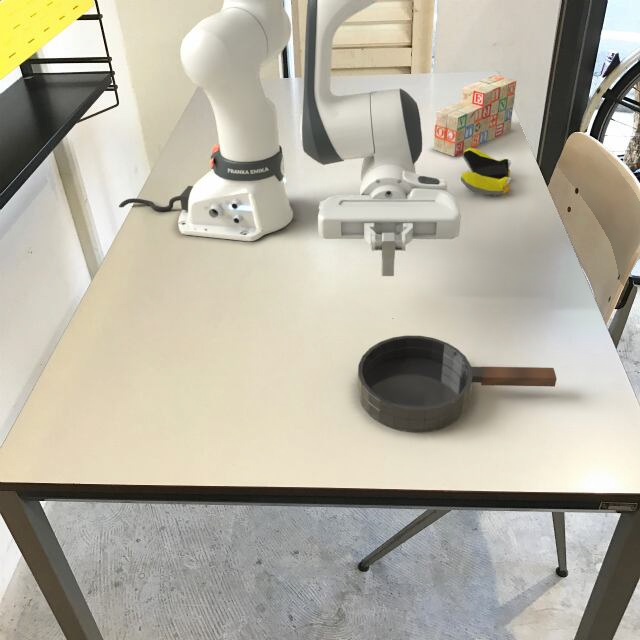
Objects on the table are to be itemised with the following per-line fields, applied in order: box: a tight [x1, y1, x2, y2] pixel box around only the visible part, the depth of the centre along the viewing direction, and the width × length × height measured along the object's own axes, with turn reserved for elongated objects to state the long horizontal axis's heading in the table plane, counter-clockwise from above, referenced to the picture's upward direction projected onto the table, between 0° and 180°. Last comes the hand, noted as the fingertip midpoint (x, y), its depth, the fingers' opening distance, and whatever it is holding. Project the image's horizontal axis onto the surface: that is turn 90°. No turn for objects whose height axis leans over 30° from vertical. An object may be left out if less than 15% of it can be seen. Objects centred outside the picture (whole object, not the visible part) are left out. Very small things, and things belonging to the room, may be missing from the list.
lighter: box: [381, 233, 396, 277], centre depth 96 cm, size 7×2×8 cm, turn 176°
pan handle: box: [471, 366, 558, 388], centre depth 93 cm, size 11×2×2 cm, turn 86°
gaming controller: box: [460, 147, 512, 198], centre depth 144 cm, size 15×6×10 cm
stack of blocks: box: [433, 75, 517, 157], centre depth 161 cm, size 21×6×12 cm, turn 133°
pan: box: [357, 335, 473, 433], centre depth 95 cm, size 15×15×4 cm
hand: (388, 246), depth 95 cm, fingers closed on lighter, 2 cm apart
